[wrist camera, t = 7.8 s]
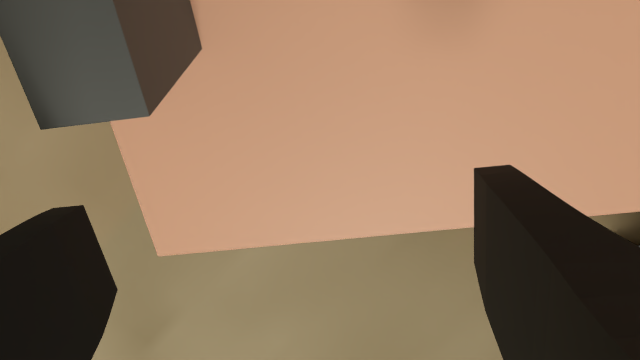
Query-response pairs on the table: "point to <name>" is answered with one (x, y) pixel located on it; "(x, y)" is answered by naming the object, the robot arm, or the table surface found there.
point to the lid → (338, 107)
